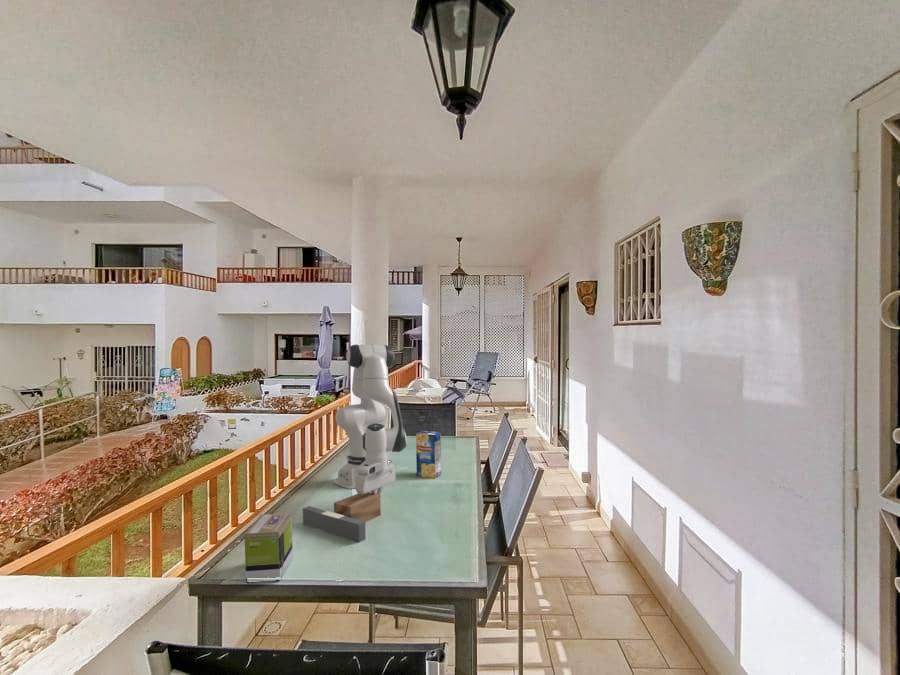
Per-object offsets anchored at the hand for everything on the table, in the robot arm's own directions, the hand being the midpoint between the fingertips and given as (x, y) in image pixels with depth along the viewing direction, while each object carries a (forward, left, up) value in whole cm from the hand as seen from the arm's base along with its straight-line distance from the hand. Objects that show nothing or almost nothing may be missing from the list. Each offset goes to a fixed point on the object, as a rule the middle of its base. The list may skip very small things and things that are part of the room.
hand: (376, 498), depth 187 cm
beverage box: (-12, +52, -5) cm, 54 cm away
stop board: (0, -23, -5) cm, 24 cm away
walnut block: (-1, -10, -5) cm, 11 cm away
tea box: (+6, -53, -6) cm, 54 cm away
